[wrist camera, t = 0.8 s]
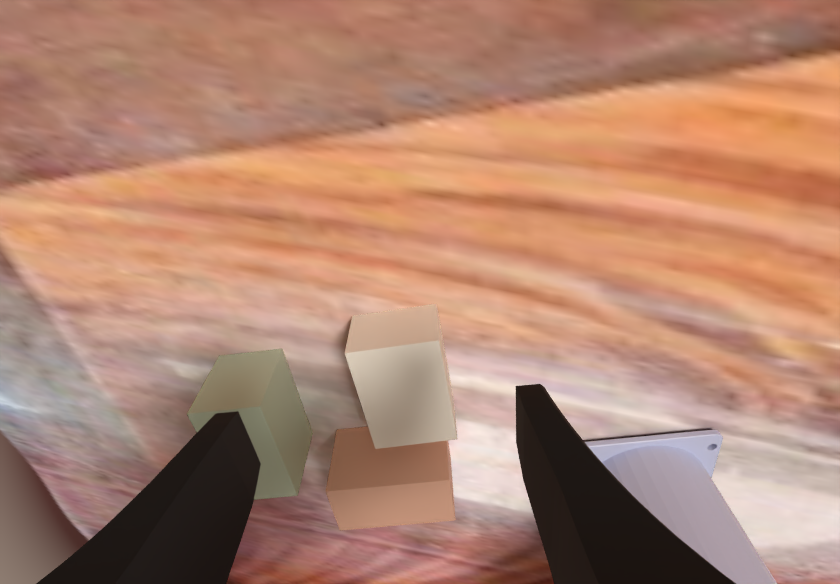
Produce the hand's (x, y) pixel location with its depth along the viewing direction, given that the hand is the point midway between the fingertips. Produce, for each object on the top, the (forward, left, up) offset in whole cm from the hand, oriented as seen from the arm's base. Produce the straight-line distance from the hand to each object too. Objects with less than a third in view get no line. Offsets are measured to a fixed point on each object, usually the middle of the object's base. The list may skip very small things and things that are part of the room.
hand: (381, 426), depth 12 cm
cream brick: (-6, 0, -10) cm, 11 cm away
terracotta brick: (-12, +2, -10) cm, 15 cm away
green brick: (-7, +8, -10) cm, 14 cm away
